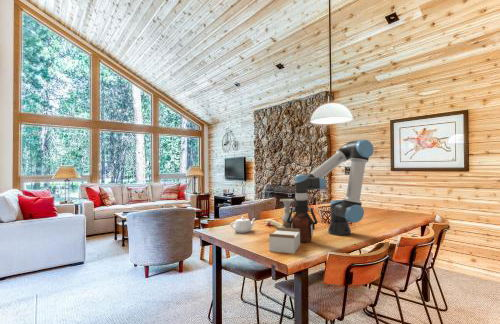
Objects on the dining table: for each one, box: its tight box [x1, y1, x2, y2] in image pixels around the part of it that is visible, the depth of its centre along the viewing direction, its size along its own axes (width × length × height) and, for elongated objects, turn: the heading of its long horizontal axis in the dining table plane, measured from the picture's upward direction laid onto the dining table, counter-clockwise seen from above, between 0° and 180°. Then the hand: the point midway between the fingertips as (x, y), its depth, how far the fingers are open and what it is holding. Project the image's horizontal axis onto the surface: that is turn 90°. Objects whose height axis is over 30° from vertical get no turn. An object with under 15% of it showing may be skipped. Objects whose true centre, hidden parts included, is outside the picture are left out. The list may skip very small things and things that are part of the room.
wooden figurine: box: [292, 213, 313, 243], centre depth 175 cm, size 12×6×18 cm, turn 105°
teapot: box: [229, 216, 257, 234], centre depth 204 cm, size 22×14×11 cm, turn 124°
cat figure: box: [263, 218, 284, 228], centre depth 216 cm, size 10×9×25 cm
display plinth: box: [268, 226, 301, 254], centre depth 162 cm, size 14×18×10 cm
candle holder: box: [279, 198, 295, 228], centre depth 195 cm, size 11×11×24 cm
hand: (302, 234), depth 175 cm, fingers closed on wooden figurine, 11 cm apart
